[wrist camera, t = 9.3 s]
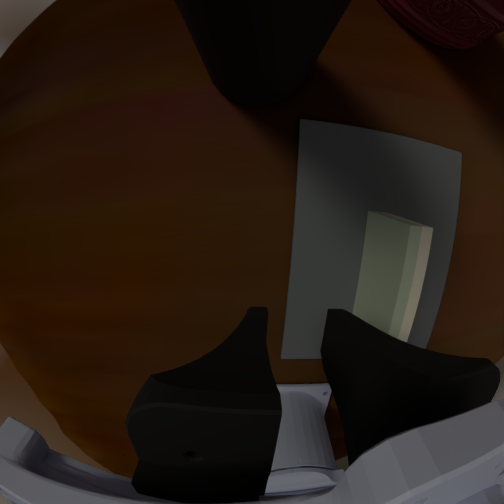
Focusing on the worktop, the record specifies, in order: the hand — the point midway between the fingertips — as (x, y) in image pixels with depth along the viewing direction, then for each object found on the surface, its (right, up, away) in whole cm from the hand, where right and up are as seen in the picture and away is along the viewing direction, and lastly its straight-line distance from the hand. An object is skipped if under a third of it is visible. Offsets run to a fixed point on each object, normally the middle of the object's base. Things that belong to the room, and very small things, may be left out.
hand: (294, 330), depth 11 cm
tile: (+7, +2, +9) cm, 11 cm away
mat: (+8, +3, +9) cm, 12 cm away
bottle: (-1, +16, +6) cm, 17 cm away
